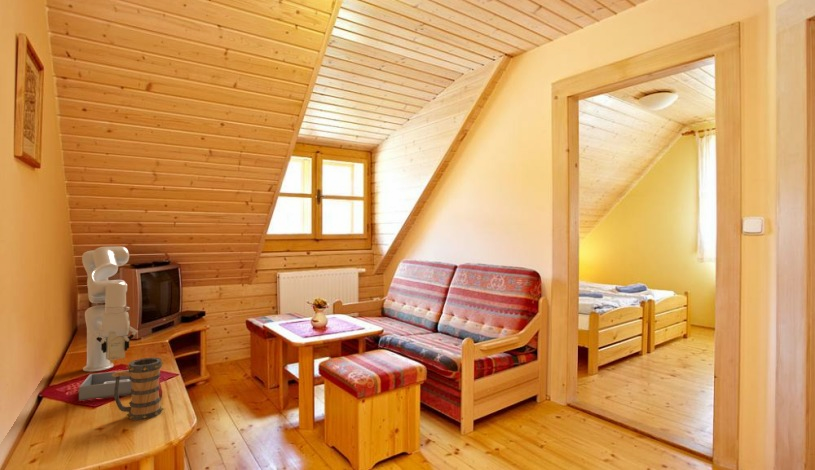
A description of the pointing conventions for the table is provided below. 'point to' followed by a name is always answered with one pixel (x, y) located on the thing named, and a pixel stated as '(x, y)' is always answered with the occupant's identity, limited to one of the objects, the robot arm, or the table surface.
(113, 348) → the skincare box
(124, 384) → the walled box
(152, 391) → the mug
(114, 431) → the table surface
